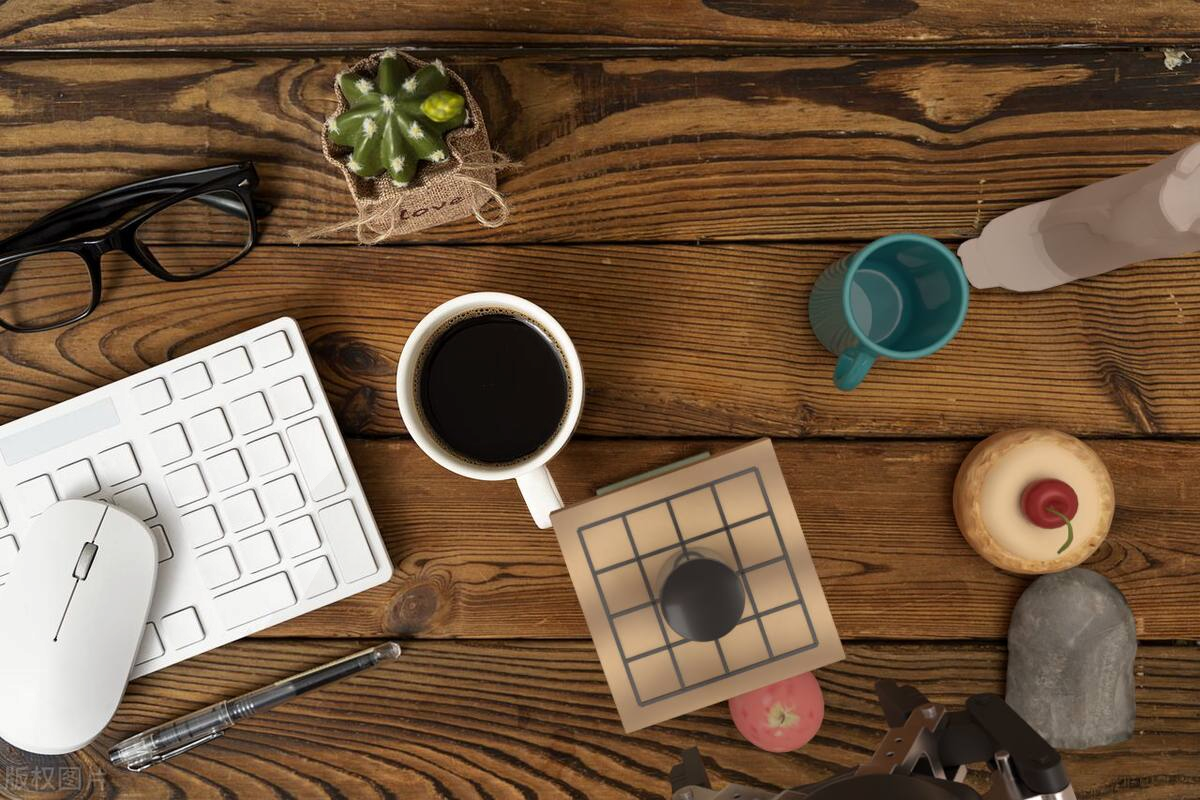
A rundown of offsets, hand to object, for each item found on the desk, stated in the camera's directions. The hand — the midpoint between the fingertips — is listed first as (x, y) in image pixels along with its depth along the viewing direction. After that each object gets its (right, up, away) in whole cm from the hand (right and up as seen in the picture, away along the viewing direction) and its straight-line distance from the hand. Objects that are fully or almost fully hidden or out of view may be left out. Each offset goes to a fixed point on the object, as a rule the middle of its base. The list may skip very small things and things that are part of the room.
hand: (792, 735), depth 36 cm
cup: (+13, +20, +36) cm, 44 cm away
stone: (+31, -7, +37) cm, 49 cm away
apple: (+6, -10, +37) cm, 39 cm away
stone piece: (-2, +3, +15) cm, 16 cm away
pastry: (+27, +6, +37) cm, 46 cm away
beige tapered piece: (+29, +27, +36) cm, 53 cm away
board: (-2, +3, +37) cm, 37 cm away
